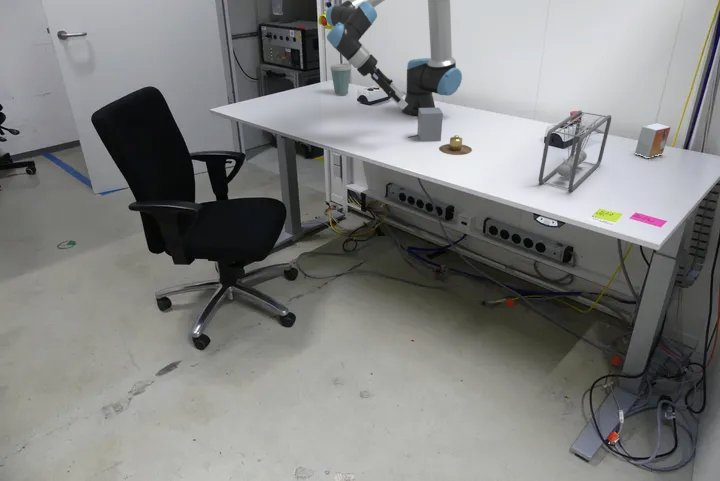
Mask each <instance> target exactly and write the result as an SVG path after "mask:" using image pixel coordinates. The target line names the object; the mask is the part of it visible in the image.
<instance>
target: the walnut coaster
mask: <svg viewBox="0 0 720 481" xmlns="http://www.w3.org/2000/svg"><path fill="white" fill-rule="evenodd" d="M449 148H450V143H447V144H443V145H440V146H439V147H438V149H439V152H441V153H443V154H446V155H452V156H462V155H468V154H470V153H472V151H473V149H472V147H470V146H468V145H466V144H462V149H461V151H451V150H450V149H449Z"/></svg>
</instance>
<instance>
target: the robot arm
mask: <svg viewBox="0 0 720 481" xmlns="http://www.w3.org/2000/svg"><path fill="white" fill-rule="evenodd" d="M384 1H385V0H345V1H344V2H342V3H341V4H339V5H337V4H335V5H332V6H331V5H330V6H329V7H328V8H327V10H326V13H325V21H326V22H327V24H328V25H329V26H331V27H332V28H331V29H330V31H329V32H328V34H326V35H327V36H326V39H327V41H328V42H329V44H330V45H331V46H332V47H333V49H335V50H336V51H337V52H338V53H339V54H341V56H343V57H344V59H345V60H346V61H347V62H349V63H348V64H349V65H350V66H353V67H354V68H355V69H356V70H357V72H358V73H360V75H361V76H362V77H367V75H368V74H370V79H372V81H374V83H376V85H378V86H379V87H380V88H381V89H382V90H383V92H384V93H385V95H387V98H388V99H391V100H392V101H393V102H394V103H395V104H396V105H397V106H399V107H400V109H401V112H402V113H403V114H406V115H410V116H417V117H418V111H419V108H436V105H435V101H434V96H433V93H435V94H438V95H439V96H446V97H447V96H448V97H449V96H452V95H453V94H454V93H456V92H457V90H458V89H459V88H460V86H461V83H462V80H463V75H462V71H461V70H460V69H459V68H457V65H456V63H457V61H456V59H455V58H454V57H453V52H452V51H453V50H452V24H451V23H452V22H451V21H452V20H451V18H452V16H451V15H452V14H451V0H427V8H428V9H427V10H428V25H429V26H428V29H429V46H430V47H429V48H430V57H427V58H425V57H424V58H417V59H410V60H409V61H408V62H407V65H406V66H407V69H406V94H404V93H403V92H402V91H401V90H400V88H398V87H397V86H396V85H395V84H394V83H393V82H394V81H393V79H390V78H388V77H387V75H385V74H384V73H383V71H381V69H380V68H378V67H376V66H377V64H378V60H377V58H376V57H375V56H374V55H373V54H370V51H369V50H368V49H367V48H366V47H365V46H364V45H363V44H362V42H360V39H361V38H362V37H363V35H365V33H366V32H368V30H369V29H370V27H371V26H372V25H373V23H374V22H375V21H376V20H377V18H378V12H377V10H376V6H378V5H380V4H382V2H384ZM404 95H405V97H404ZM403 97H404V98H403Z"/></svg>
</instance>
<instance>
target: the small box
mask: <svg viewBox="0 0 720 481" xmlns="http://www.w3.org/2000/svg"><path fill="white" fill-rule="evenodd" d="M671 128H672V127H671V126H668V125H665V124H661V123H658V122H655V123H653V124H649V125H643V126H641V128H640V129H641V130H640V133H639V137H638V141H637V144H636V148H635V151H634V154H635V153H637V154H641V155H643V156H646V157H652V156H655V155H658V154H662V153H664V150H665V147H666V143H667V142H668V137H669V135H670V132H671V131H670V130H671ZM662 155H663V154H662Z"/></svg>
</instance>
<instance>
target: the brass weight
mask: <svg viewBox="0 0 720 481" xmlns="http://www.w3.org/2000/svg"><path fill="white" fill-rule="evenodd" d="M449 144H450V148H449V149H450V150H451V151H461V149H462V145H463V138H462V137H460V136H459V135H454V136H452V137H450V139H449Z"/></svg>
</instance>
